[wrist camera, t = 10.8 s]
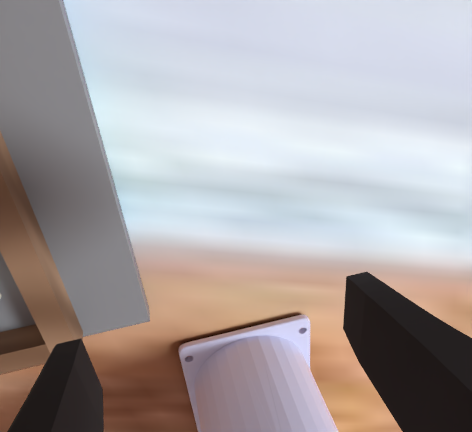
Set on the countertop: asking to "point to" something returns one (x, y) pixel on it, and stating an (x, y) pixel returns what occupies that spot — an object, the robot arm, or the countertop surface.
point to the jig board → (55, 197)
